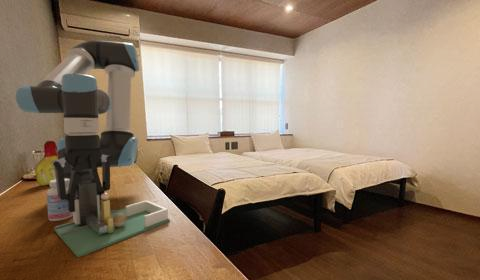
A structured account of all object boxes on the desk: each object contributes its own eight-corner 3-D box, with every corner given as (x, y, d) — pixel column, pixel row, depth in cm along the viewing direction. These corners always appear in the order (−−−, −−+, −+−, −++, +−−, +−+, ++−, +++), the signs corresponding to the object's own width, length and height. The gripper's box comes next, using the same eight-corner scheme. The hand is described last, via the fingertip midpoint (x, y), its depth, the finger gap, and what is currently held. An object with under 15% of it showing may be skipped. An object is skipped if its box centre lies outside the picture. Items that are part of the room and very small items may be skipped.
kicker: (76, 222, 60) (73, 183, 60) (94, 217, 64) (92, 179, 63) (94, 238, 52) (92, 192, 51) (114, 231, 55) (112, 188, 55)
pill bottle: (45, 223, 62) (42, 184, 61) (51, 215, 67) (49, 179, 66) (72, 219, 65) (70, 181, 64) (76, 211, 70) (74, 176, 69)
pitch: (54, 230, 58) (54, 226, 58) (137, 206, 75) (137, 203, 75) (77, 257, 46) (77, 252, 46) (169, 221, 63) (169, 217, 63)
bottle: (37, 188, 96) (33, 142, 95) (35, 185, 100) (32, 141, 99) (71, 182, 105) (68, 140, 104) (68, 180, 109) (65, 139, 108)
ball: (109, 227, 58) (108, 213, 58) (123, 222, 61) (122, 209, 61) (115, 231, 56) (114, 217, 56) (129, 226, 59) (128, 213, 59)
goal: (125, 217, 66) (125, 206, 65) (147, 210, 71) (146, 200, 71) (146, 229, 58) (145, 216, 58) (168, 220, 64) (167, 208, 63)
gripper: (43, 136, 50) (49, 236, 52) (122, 133, 63) (125, 213, 65) (36, 135, 55) (42, 227, 56) (111, 132, 68) (114, 207, 70)
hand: (87, 219), depth 61 cm, fingers closed on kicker, 4 cm apart
